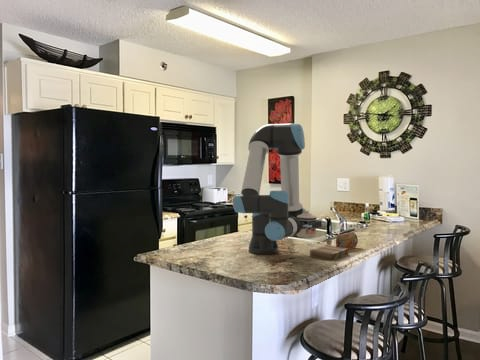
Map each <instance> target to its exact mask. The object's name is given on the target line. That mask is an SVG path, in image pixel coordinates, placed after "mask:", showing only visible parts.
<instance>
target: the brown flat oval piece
mask: <svg viewBox="0 0 480 360" xmlns="http://www.w3.org/2000/svg"><path fill="white" fill-rule="evenodd" d="M358 241H359V240H358V236H357V234H356V233H355V232H346V233H341V234H338V235H337V236H336V238H335V247H341V248H348V251H349V250H353V249H355V248H356V247H357V246H358Z"/></svg>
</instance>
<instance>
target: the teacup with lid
mask: <svg viewBox="0 0 480 360" xmlns="http://www.w3.org/2000/svg"><path fill="white" fill-rule="evenodd" d="M304 212H305V213H302V214H301V215H298V216H297V217H296V218H298V219H299V220H301V221H303V220H305V221H315V220H316V219H318V218H317V216H316V215H314V214H312V213H310V211H309V210H306V211H304ZM296 236H297V237H298V238H304V239H305V238H306V239H308V238H309V239H312V238H313V239H314V238H316V236H317V228H312V229H308V227H307V228H306V229H302V230H301V231H300V232H299V233H298V234H296Z"/></svg>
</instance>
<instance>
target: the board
mask: <svg viewBox="0 0 480 360" xmlns="http://www.w3.org/2000/svg"><path fill="white" fill-rule="evenodd" d="M348 255H349V250H348V248H341V247H336V245H335V246H334V245H329V244H325V245H321V246H319V247H316V248H312V249H310V250H309V258H310V257H311V258H315V259H321V260H327V261H331V260H332V261H333V260H334V261H336V260H338V258H339V259H341V258H343V256H344V257H345V256H348Z"/></svg>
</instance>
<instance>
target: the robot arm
mask: <svg viewBox="0 0 480 360" xmlns="http://www.w3.org/2000/svg"><path fill="white" fill-rule="evenodd" d="M305 146H306V144H305V134H304V130H303V127H302V125H301V124H299V123H275V124H273V123H268V124H265V125H263V126H261V127H260V128H258V129H257V130H256V131H255V132H254V133H253V134H252V136H251V138H250V139H249V142H248V146H247V147H248V148H247V149H248V151H249V153H248V158H247V162H246V166H245V171H244V177H243V182H242V186H241V192H240V194H235V196H234V197H233V201H232V204H233V206H232V207H233V210H234V212H235V213H238V214H251V221H252V222H251V229H252V230H251V239H250V242H249V245H248V252H249V253H251V254H257V255H258V254H259V255H272V254H277V253H278V252H279V245H278V241H280V240H281V241H282V240H283V239H288V238H289V237H291V236H295V235H297V234H298V233H299V232H300V231H301V230H302V229H306V228H307V227H308V229H312V228H316V229H318V228H321V227H322V225H323V218H317V219H316V220H315V221H305V220H303V221H301V220H299V219H298V218H296V217H297V216H298V215H301V214H302V213H305V212H304V211H307V210H306V209H305V208H303V204H302V203H301V202H300V173H299V172H300V171H299V170H300V167H299V165H300V164H299V163H300V162H299V156H300V155H301V154H302V150H304V149H305ZM269 150H276V154H277V155H278V156H279V157H280V158H279V159H280V190H270V191H269V193H268V194H260V191H261V186H262V180H263V173H264V168H265V163H266V162H265V161H266V156H267V154H268V153H269Z"/></svg>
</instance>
